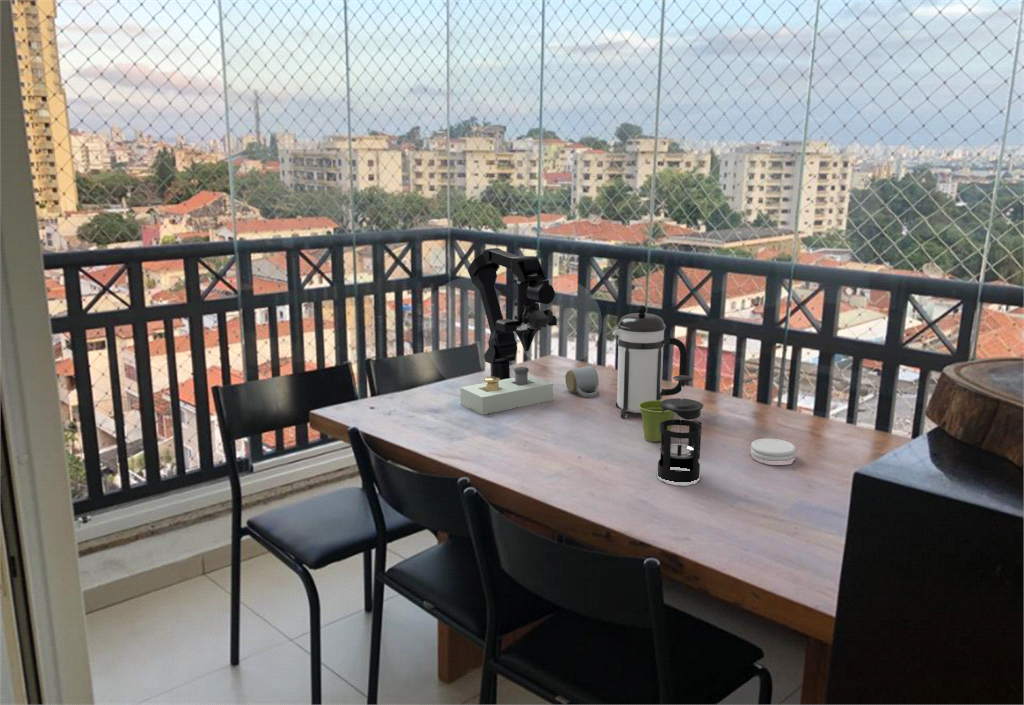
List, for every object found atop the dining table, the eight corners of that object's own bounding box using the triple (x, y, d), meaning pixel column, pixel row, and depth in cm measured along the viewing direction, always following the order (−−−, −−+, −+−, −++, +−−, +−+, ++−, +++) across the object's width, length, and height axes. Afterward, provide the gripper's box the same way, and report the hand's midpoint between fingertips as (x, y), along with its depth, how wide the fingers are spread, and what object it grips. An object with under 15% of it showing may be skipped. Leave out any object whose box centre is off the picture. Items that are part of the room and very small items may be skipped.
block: (460, 404, 227) (460, 387, 225) (529, 390, 239) (529, 374, 238) (482, 414, 217) (482, 397, 216) (552, 400, 230) (553, 383, 228)
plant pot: (630, 439, 197) (631, 406, 195) (651, 429, 204) (652, 397, 202) (662, 448, 191) (663, 413, 189) (682, 438, 198) (684, 405, 196)
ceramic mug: (563, 389, 240) (564, 365, 238) (587, 386, 243) (588, 362, 241) (579, 399, 231) (579, 374, 229) (604, 396, 234) (604, 371, 232)
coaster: (765, 469, 178) (766, 454, 177) (741, 453, 188) (742, 439, 187) (804, 464, 181) (805, 450, 180) (778, 449, 190) (779, 435, 189)
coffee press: (645, 425, 207) (649, 313, 200) (600, 411, 219) (602, 305, 212) (685, 411, 218) (690, 305, 211) (640, 399, 230) (644, 297, 223)
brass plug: (482, 403, 226) (481, 377, 224) (494, 401, 228) (494, 375, 226) (490, 407, 223) (489, 381, 221) (502, 404, 225) (502, 378, 223)
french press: (680, 490, 166) (685, 385, 161) (645, 477, 173) (649, 376, 168) (713, 476, 174) (719, 375, 168) (679, 464, 181) (683, 367, 175)
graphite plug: (511, 393, 231) (511, 368, 229) (523, 391, 233) (523, 366, 231) (519, 396, 228) (519, 371, 226) (531, 394, 230) (531, 369, 228)
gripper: (515, 306, 221) (515, 360, 224) (568, 300, 231) (567, 351, 234) (494, 301, 230) (494, 353, 233) (546, 294, 240) (545, 345, 243)
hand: (526, 350), depth 236 cm, fingers closed
